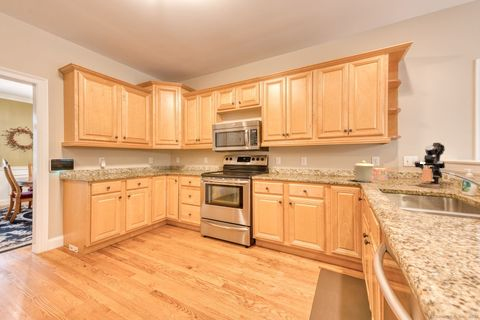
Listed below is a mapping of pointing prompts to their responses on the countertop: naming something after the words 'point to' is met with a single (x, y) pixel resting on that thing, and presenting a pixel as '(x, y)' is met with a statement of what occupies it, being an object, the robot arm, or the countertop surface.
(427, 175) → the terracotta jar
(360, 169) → the canister
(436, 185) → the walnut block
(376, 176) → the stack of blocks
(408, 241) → the countertop surface
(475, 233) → the countertop surface
